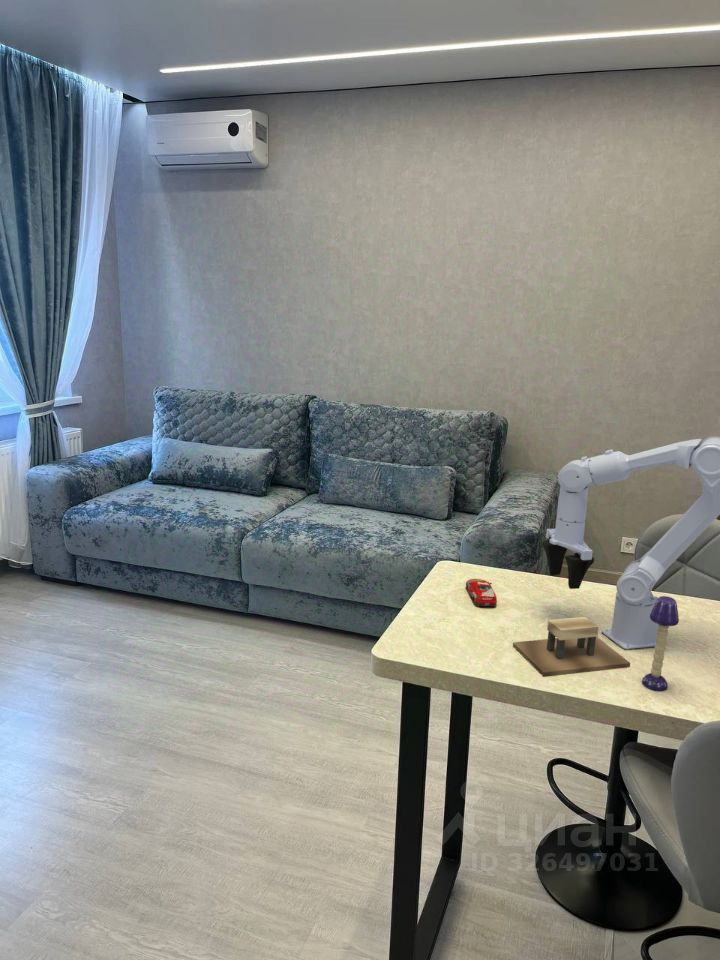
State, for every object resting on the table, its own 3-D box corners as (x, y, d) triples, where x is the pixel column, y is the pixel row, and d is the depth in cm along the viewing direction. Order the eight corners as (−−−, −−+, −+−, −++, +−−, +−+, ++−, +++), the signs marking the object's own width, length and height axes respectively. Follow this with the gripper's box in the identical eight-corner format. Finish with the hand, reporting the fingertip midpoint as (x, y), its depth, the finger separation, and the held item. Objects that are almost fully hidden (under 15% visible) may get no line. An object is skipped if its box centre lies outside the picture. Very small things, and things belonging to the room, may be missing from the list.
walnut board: (593, 638, 143) (593, 634, 143) (629, 666, 132) (630, 662, 132) (512, 646, 139) (513, 642, 138) (543, 676, 127) (543, 672, 127)
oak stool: (545, 648, 136) (548, 620, 135) (581, 645, 138) (585, 616, 137) (557, 659, 132) (560, 630, 131) (595, 655, 134) (598, 626, 133)
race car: (463, 586, 169) (465, 571, 168) (486, 587, 169) (487, 571, 168) (473, 609, 156) (475, 592, 155) (498, 609, 156) (499, 593, 155)
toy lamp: (673, 692, 123) (687, 604, 119) (647, 693, 123) (660, 604, 119) (660, 678, 128) (672, 593, 124) (635, 679, 128) (647, 593, 124)
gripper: (535, 509, 150) (530, 569, 154) (572, 530, 137) (565, 595, 140) (565, 508, 152) (559, 567, 155) (604, 528, 139) (596, 593, 142)
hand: (564, 581), depth 148 cm, fingers open, 7 cm apart
